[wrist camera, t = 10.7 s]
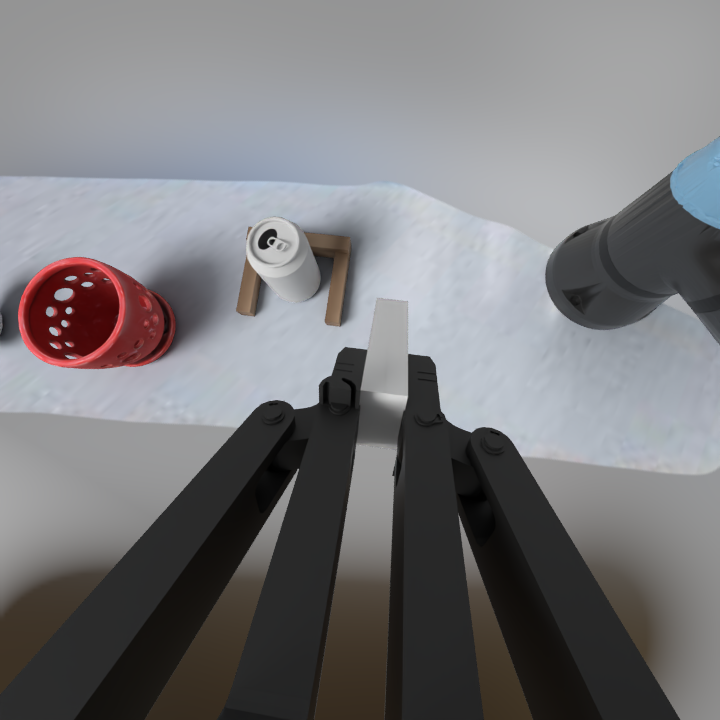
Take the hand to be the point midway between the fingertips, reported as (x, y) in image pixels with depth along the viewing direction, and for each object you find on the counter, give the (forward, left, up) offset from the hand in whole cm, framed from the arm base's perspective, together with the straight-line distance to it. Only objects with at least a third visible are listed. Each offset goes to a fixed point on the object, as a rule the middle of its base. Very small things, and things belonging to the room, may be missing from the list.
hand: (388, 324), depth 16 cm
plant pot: (+36, -2, -30) cm, 47 cm away
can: (+14, -13, -30) cm, 36 cm away
